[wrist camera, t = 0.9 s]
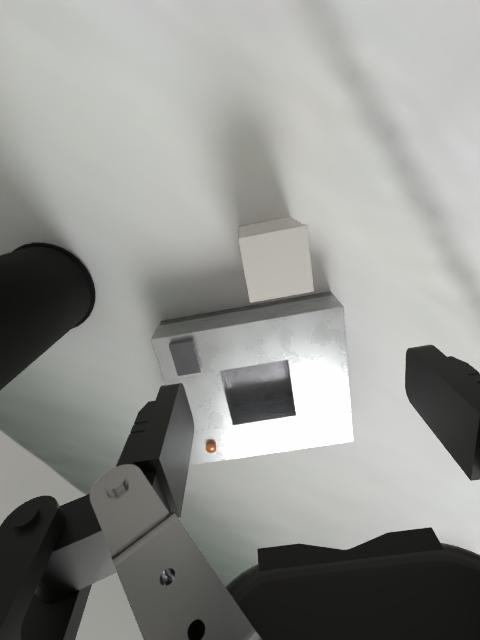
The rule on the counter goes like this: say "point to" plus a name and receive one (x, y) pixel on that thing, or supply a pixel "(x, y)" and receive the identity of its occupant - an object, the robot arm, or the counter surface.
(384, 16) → the counter surface
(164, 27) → the counter surface
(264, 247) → the white plain square block
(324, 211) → the counter surface
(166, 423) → the robot arm
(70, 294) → the aerosol can
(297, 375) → the socket
